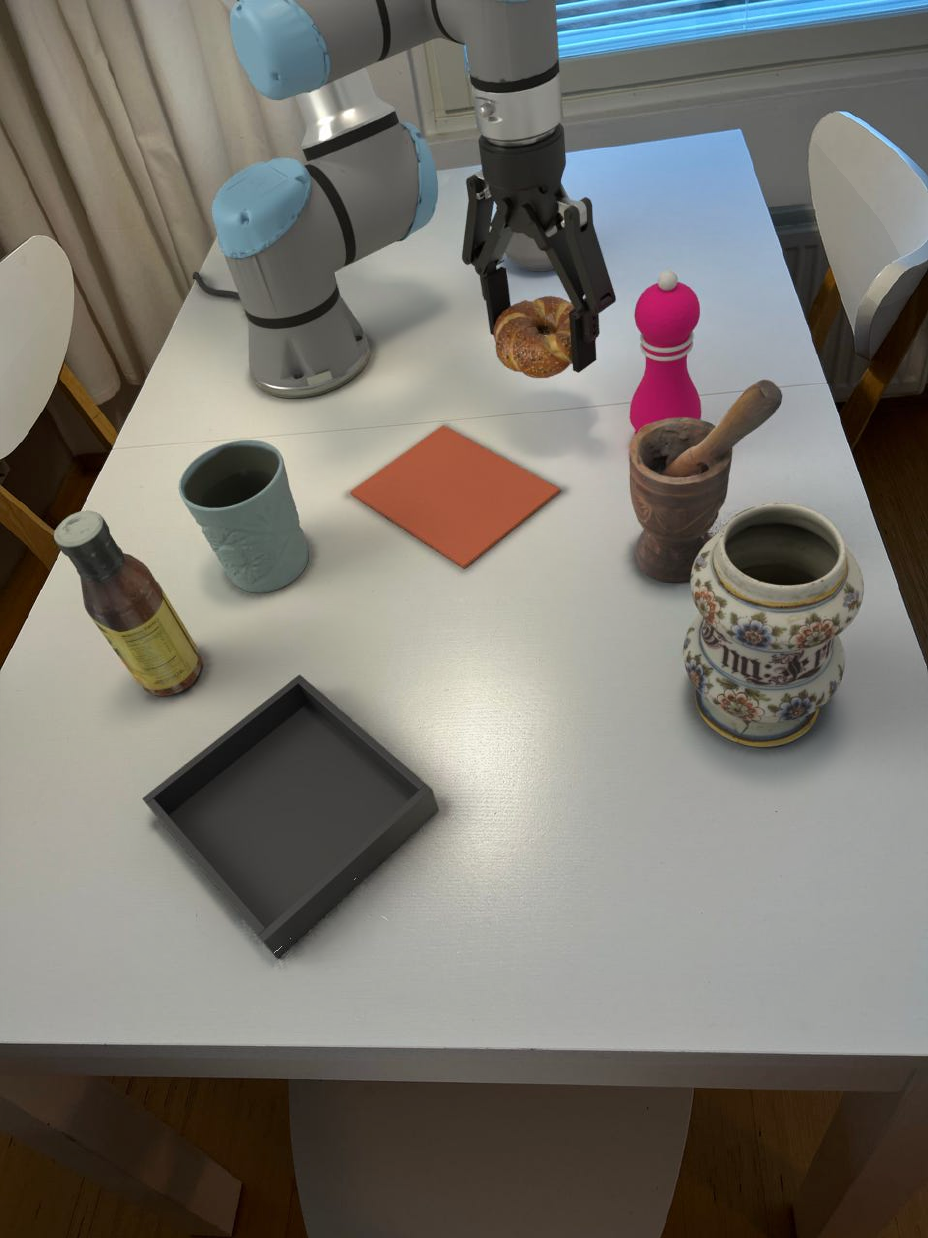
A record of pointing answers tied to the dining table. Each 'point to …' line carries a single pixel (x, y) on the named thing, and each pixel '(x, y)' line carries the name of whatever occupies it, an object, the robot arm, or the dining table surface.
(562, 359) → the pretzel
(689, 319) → the pepper mill
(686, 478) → the mortar and pestle
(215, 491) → the light blue ceramic cup
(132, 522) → the dining table surface
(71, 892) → the dining table surface
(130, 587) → the sauce bottle
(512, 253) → the coffee pot
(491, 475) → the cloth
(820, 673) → the apothecary jar
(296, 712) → the tray
